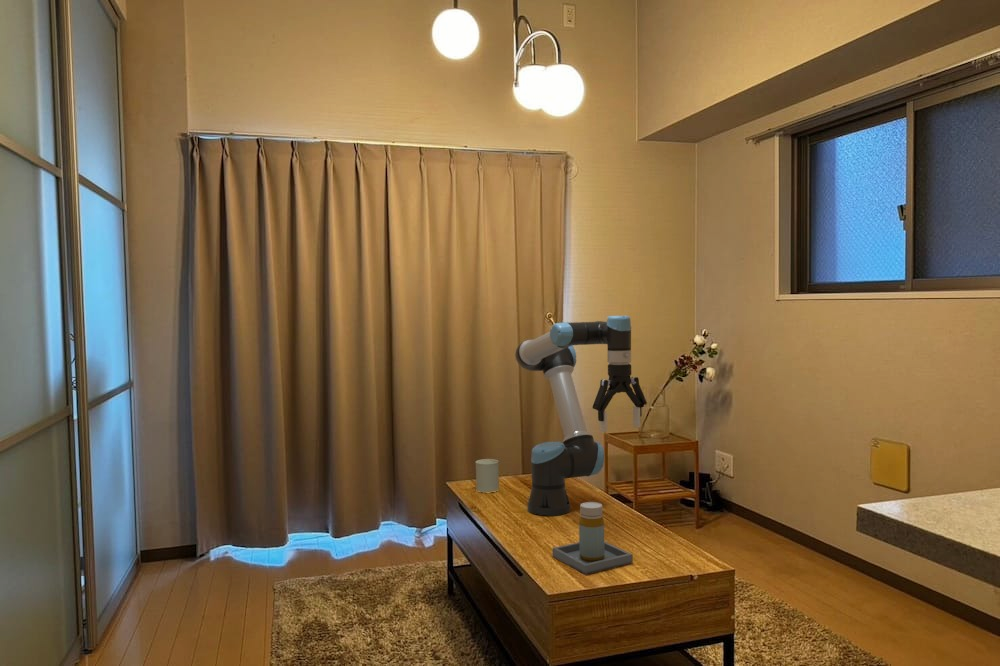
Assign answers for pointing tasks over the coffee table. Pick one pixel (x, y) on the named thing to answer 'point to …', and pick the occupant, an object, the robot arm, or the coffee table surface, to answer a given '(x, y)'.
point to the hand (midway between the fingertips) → (620, 429)
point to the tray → (572, 558)
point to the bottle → (591, 532)
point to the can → (487, 475)
